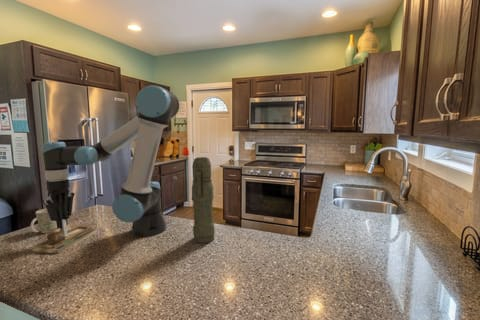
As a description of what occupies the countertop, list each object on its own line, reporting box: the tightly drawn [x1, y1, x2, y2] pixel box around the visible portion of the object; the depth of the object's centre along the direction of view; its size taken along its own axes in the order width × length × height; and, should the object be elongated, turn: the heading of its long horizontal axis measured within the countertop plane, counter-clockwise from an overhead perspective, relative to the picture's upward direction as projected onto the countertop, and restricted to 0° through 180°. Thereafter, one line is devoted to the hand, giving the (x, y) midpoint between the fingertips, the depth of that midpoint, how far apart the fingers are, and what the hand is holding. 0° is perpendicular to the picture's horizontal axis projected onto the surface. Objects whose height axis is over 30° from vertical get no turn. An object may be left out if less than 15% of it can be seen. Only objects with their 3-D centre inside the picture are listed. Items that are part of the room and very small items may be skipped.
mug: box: [29, 207, 57, 234], centre depth 113 cm, size 8×13×10 cm, turn 174°
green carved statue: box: [191, 156, 216, 245], centre depth 102 cm, size 9×12×35 cm
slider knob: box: [46, 228, 68, 245], centre depth 99 cm, size 7×4×6 cm, turn 80°
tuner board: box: [31, 225, 98, 254], centre depth 105 cm, size 12×20×2 cm, turn 170°
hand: (63, 234), depth 103 cm, fingers closed
